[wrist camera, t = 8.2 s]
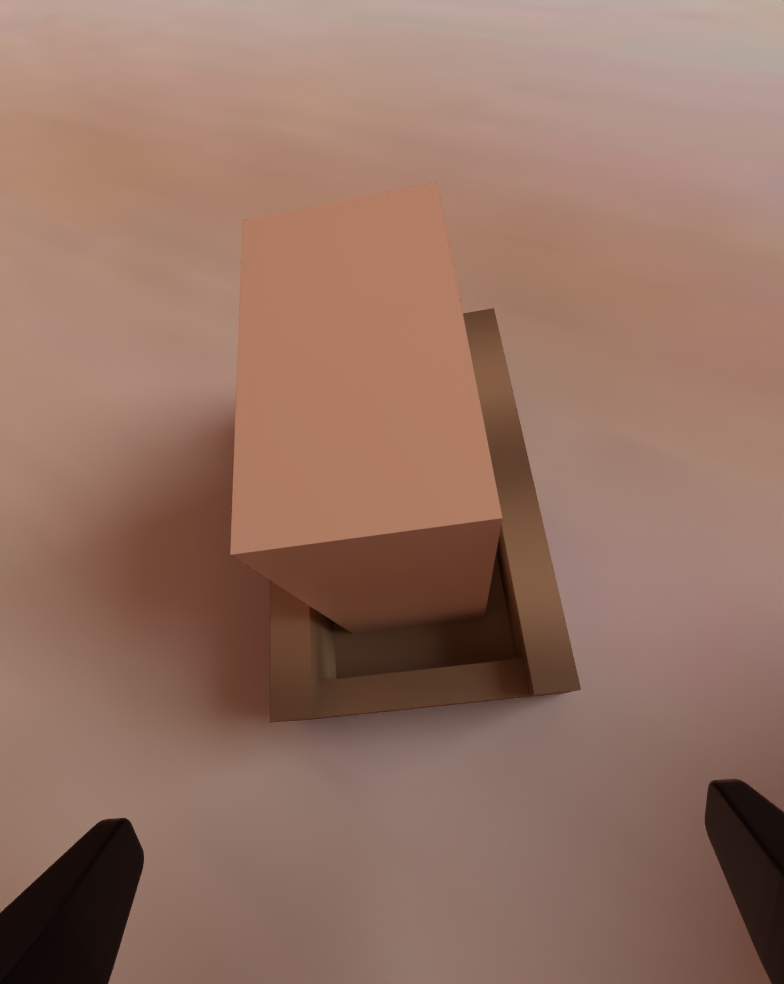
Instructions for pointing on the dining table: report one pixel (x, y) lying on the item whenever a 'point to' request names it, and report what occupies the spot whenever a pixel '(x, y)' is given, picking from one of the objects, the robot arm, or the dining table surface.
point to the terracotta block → (361, 417)
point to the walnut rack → (452, 646)
